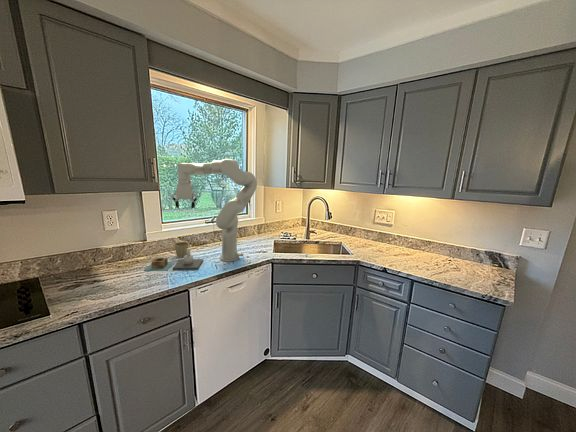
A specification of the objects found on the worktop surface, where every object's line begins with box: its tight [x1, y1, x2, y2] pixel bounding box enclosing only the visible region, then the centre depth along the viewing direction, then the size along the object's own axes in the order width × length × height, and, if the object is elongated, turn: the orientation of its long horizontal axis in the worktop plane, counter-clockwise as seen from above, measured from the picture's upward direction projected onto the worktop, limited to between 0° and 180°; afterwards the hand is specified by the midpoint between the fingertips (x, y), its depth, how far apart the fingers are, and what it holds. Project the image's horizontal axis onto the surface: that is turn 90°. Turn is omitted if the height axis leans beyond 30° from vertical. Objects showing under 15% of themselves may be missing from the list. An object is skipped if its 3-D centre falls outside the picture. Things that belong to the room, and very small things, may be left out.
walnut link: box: [150, 257, 169, 268], centre depth 143 cm, size 7×7×4 cm
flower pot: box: [173, 241, 189, 259], centre depth 162 cm, size 9×9×9 cm
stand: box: [172, 248, 204, 271], centre depth 146 cm, size 14×14×11 cm
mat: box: [143, 261, 176, 272], centre depth 143 cm, size 13×12×1 cm
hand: (185, 207), depth 162 cm, fingers open, 9 cm apart
